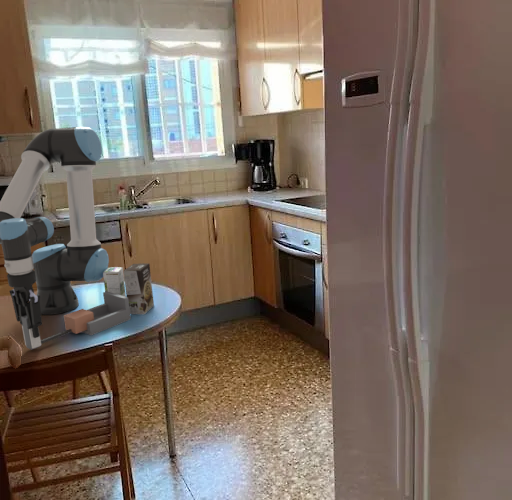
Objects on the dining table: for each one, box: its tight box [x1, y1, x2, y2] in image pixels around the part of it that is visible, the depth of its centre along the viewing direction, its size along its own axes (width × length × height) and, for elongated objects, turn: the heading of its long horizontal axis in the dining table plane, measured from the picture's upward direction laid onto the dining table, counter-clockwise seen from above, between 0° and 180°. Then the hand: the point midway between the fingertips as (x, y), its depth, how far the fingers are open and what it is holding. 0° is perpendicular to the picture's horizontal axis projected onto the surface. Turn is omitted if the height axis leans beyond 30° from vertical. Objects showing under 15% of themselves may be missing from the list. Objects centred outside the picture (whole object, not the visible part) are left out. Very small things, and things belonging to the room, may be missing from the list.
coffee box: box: [123, 262, 155, 316], centre depth 194 cm, size 9×6×16 cm
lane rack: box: [81, 291, 132, 336], centre depth 185 cm, size 12×16×8 cm
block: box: [21, 308, 94, 350], centre depth 173 cm, size 6×22×10 cm, turn 141°
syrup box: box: [103, 266, 126, 296], centre depth 199 cm, size 6×6×14 cm
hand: (33, 345), depth 167 cm, fingers closed on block, 3 cm apart
